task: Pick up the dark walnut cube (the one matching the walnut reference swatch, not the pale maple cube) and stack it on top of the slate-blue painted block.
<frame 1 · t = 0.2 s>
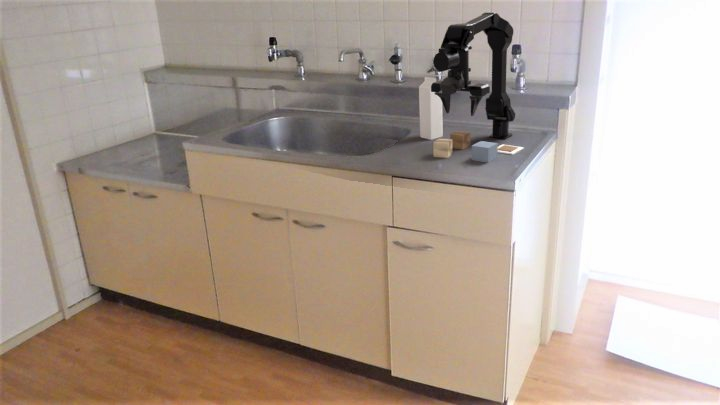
hand: (459, 114, 195), 14 cm above the table, tool pointing down, fingers open, 9 cm apart
reference swatch: (507, 150, 202), on the table
walnut block: (460, 147, 209), on the table
milk: (431, 137, 223), on the table
base block: (484, 159, 195), on the table
maple block: (443, 155, 202), on the table
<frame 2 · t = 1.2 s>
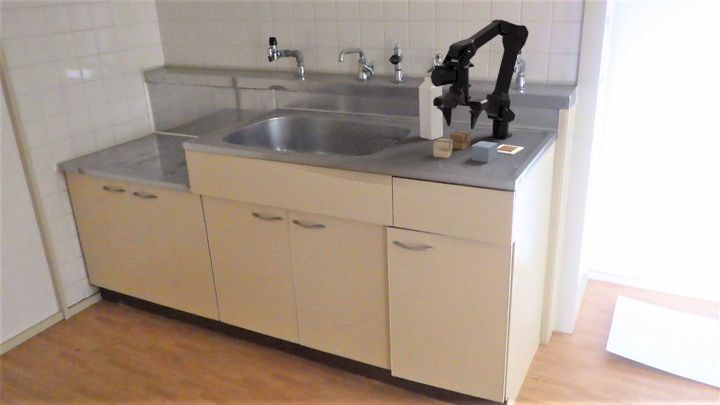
hand: (460, 127, 207), 7 cm above the table, tool pointing down, fingers open, 9 cm apart
nothing on the table moved.
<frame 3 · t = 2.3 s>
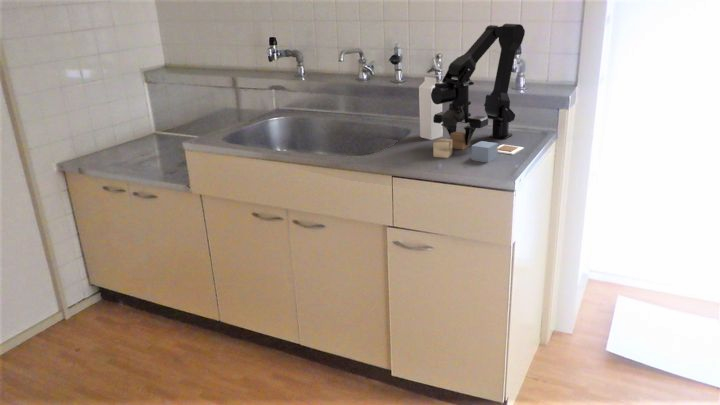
hand: (460, 143, 209), 1 cm above the table, tool pointing down, fingers closed on walnut block, 5 cm apart
walnut block: (460, 146, 209), on the table, touching gripper
everything else where it was.
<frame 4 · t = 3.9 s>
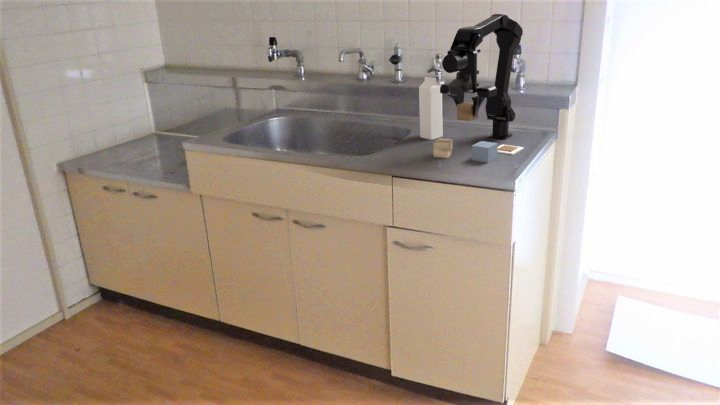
hand: (467, 115, 200), 12 cm above the table, tool pointing down, fingers closed on walnut block, 5 cm apart
walnut block: (467, 118, 200), point 11 cm above the table, touching gripper
everything else where it was.
when the fingers open (7 cm above the table, at t = 5.7 s): walnut block drops 1 cm, resting on base block.
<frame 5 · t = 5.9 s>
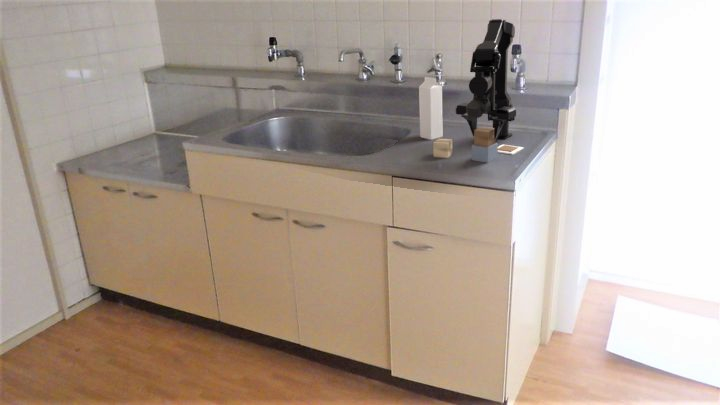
hand: (484, 137, 193), 7 cm above the table, tool pointing down, fingers open, 7 cm apart
walnut block: (484, 144, 193), point 5 cm above the table, touching base block
base block: (484, 159, 195), on the table, touching walnut block
everything else where it was.
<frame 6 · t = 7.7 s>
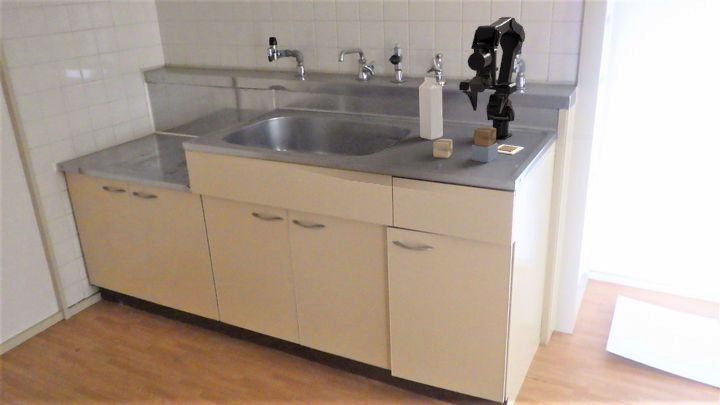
hand: (487, 111, 202), 12 cm above the table, tool pointing down, fingers open, 9 cm apart
nothing on the table moved.
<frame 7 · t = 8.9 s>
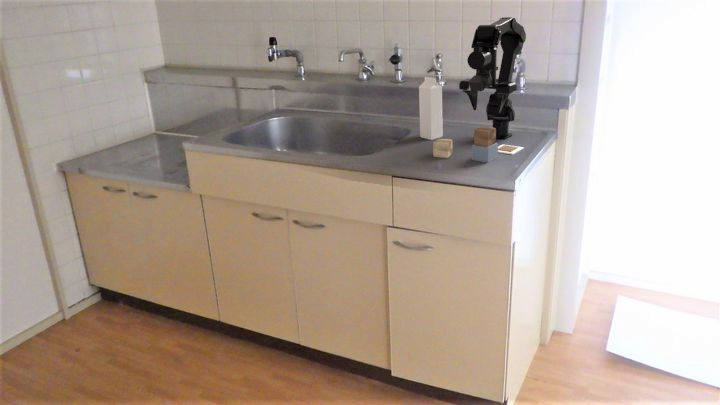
hand: (486, 111, 203), 13 cm above the table, tool pointing down, fingers open, 9 cm apart
nothing on the table moved.
at the end: walnut block 0.1 cm off-centre on the base block, point 5.0 cm above the base block's base; walnut block touching base block; the gripper is holding nothing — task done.
